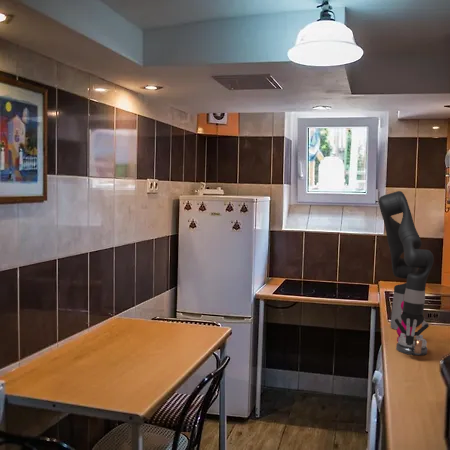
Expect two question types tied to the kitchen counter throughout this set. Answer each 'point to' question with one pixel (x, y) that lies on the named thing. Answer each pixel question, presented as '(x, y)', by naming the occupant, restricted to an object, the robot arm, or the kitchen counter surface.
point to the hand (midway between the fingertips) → (409, 344)
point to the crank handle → (417, 343)
